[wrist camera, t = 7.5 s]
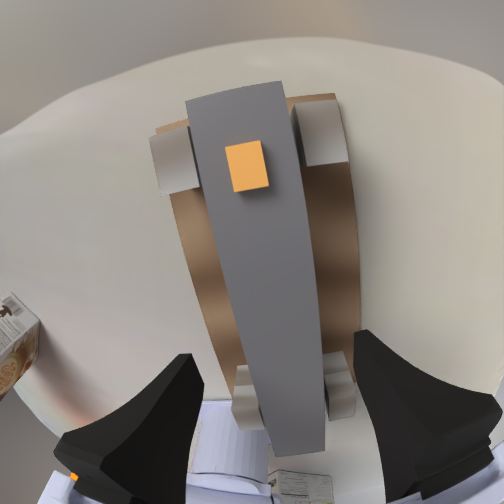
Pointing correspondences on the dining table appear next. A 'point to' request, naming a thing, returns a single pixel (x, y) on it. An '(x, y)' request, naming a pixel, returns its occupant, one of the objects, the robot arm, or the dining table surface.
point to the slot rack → (322, 239)
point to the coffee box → (16, 341)
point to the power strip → (265, 254)
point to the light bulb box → (301, 488)
